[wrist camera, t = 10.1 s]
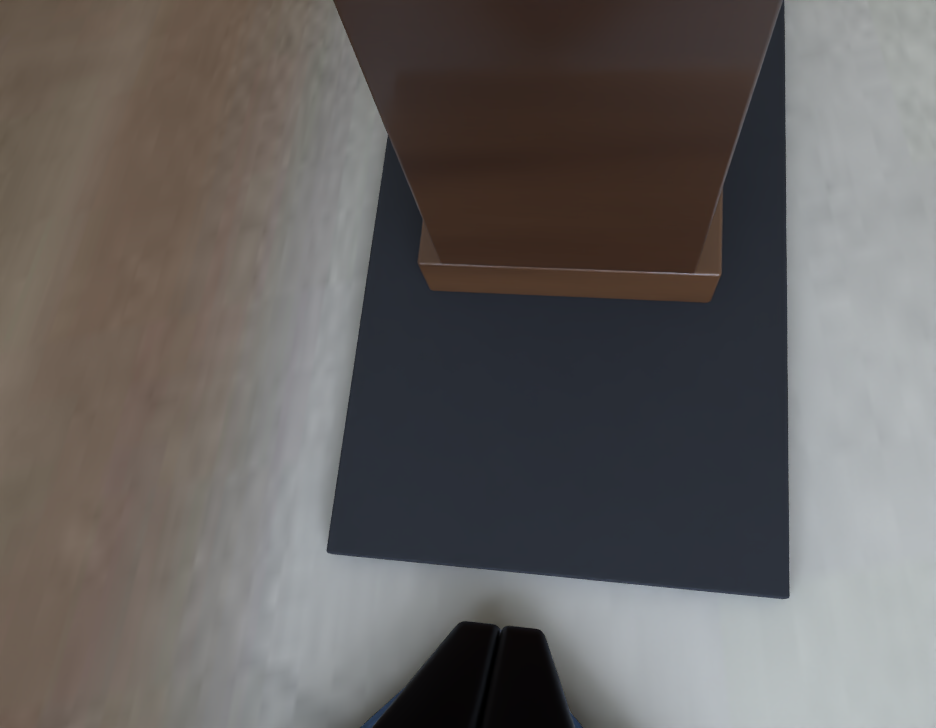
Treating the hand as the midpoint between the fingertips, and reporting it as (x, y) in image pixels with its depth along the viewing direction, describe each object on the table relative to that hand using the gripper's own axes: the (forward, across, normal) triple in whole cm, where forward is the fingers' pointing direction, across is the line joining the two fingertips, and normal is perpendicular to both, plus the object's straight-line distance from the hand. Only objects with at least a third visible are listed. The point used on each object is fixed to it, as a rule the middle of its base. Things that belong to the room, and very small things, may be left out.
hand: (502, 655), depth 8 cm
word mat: (+17, 0, -5) cm, 18 cm away
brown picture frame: (+14, 0, -3) cm, 14 cm away
